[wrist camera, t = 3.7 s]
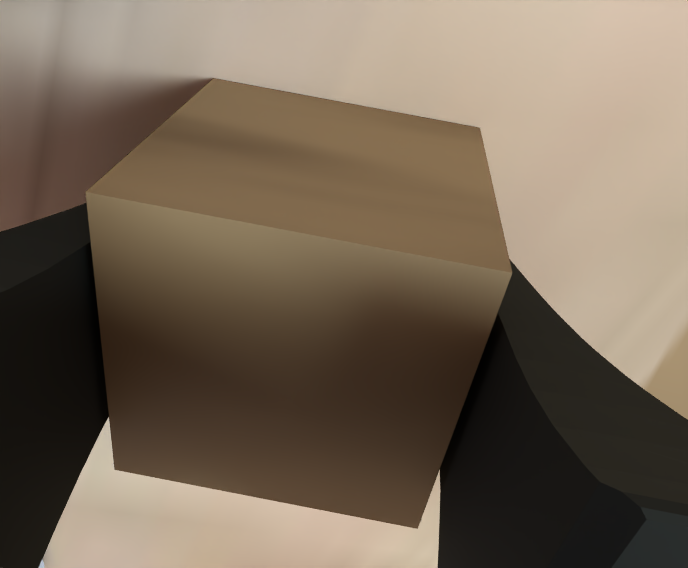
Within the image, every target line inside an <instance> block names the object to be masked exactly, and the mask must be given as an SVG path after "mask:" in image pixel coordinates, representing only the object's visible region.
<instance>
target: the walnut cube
mask: <svg viewBox="0 0 688 568" xmlns="http://www.w3.org/2000/svg"><path fill="white" fill-rule="evenodd" d="M86 202H87V211H88V221H89V230H90V240H91V249H92V259H93V268H94V278H95V287H96V297H97V306H98V316H99V325H100V335H101V344H102V354H103V363H104V373H105V382H106V392H107V402H108V411H109V421H110V430H111V440H112V449H113V459H114V468H115V470H119V471H124V472H130V473H135V474H140V475H145V476H150V477H155V478H160V479H165V480H171V481H176V482H181V483H186V484H191V485H196V486H201V487H206V488H212V489H217V490H222V491H227V492H232V493H237V494H242V495H247V496H253V497H258V498H263V499H268V500H273V501H278V502H283V503H289V504H294V505H299V506H304V507H309V508H314V509H319V510H324V511H330V512H335V513H340V514H345V515H350V516H355V517H360V518H365V519H371V520H376V521H381V522H386V523H391V524H396V525H401V526H406V527H412V528H417V529H418V526H419V523H420V520H421V518H422V515H423V512H424V510H425V507H426V504H427V502H428V499H429V496H430V494H431V491H432V488H433V485H434V483H435V480H436V477H437V475H438V472H439V469H440V467H441V464H442V461H443V459H444V456H445V453H446V450H447V448H448V445H449V442H450V440H451V437H452V434H453V432H454V429H455V426H456V424H457V421H458V418H459V415H460V413H461V410H462V407H463V405H464V402H465V399H466V397H467V394H468V391H469V388H470V386H471V383H472V380H473V378H474V375H475V372H476V370H477V367H478V364H479V362H480V359H481V356H482V353H483V351H484V348H485V345H486V343H487V340H488V337H489V335H490V332H491V329H492V327H493V324H494V321H495V318H496V316H497V313H498V310H499V308H500V305H501V302H502V300H503V297H504V294H505V292H506V289H507V286H508V283H509V281H510V278H511V275H512V269H511V265H510V260H509V256H508V251H507V247H506V242H505V238H504V233H503V229H502V224H501V220H500V216H499V211H498V207H497V202H496V198H495V193H494V189H493V184H492V180H491V175H490V171H489V166H488V162H487V158H486V153H485V149H484V144H483V140H482V135H481V131H480V128H477V127H471V126H466V125H461V124H455V123H450V122H444V121H439V120H434V119H428V118H423V117H418V116H412V115H407V114H402V113H396V112H391V111H385V110H380V109H375V108H369V107H364V106H359V105H353V104H348V103H343V102H337V101H332V100H327V99H321V98H316V97H310V96H305V95H300V94H294V93H289V92H284V91H278V90H273V89H268V88H262V87H257V86H251V85H246V84H241V83H235V82H230V81H225V80H219V79H212V80H211V81H210V82H209V83H208V84H207V85H206V86H205V87H203V88H202V89H201V90H200V91H199V92H198V93H197V94H196V95H194V96H193V97H192V98H191V99H190V100H189V101H188V102H186V103H185V104H184V105H183V106H182V107H181V108H180V109H179V110H177V111H176V112H175V113H174V114H173V115H172V116H171V117H170V118H168V119H167V120H166V121H165V122H164V123H163V124H162V125H161V126H159V127H158V128H157V129H156V130H155V131H154V132H153V133H152V134H150V135H149V136H148V137H147V138H146V139H145V140H144V141H143V142H141V143H140V144H139V145H138V146H137V147H136V148H135V149H134V150H132V151H131V152H130V153H129V154H128V155H127V156H126V157H124V158H123V159H122V160H121V161H120V162H119V163H118V164H117V165H115V166H114V167H113V168H112V169H111V170H110V171H109V172H108V173H106V174H105V175H104V176H103V177H102V178H101V179H100V180H99V181H97V182H96V183H95V184H94V185H93V186H92V187H91V188H90V189H88V190H87V191H86Z"/></svg>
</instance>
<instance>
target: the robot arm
mask: <svg viewBox="0 0 688 568" xmlns="http://www.w3.org/2000/svg"><path fill="white" fill-rule="evenodd" d="M509 260H510V259H509ZM510 265H511V269H512V275H511V278H510V281H509V283H508V286H507V289H506V292H505V294H504V297H503V300H502V302H501V305H500V308H499V310H498V313H497V316H496V318H495V321H494V324H493V327H492V329H491V332H490V335H489V337H488V340H487V343H486V345H485V348H484V351H483V353H482V356H481V359H480V362H479V364H478V367H477V370H476V372H475V375H474V378H473V380H472V383H471V386H470V388H469V391H468V394H467V397H466V399H465V402H464V405H463V407H462V410H461V413H460V415H459V418H458V421H457V424H456V426H455V429H454V432H453V434H452V437H451V440H450V442H449V445H448V448H447V450H446V453H445V456H444V459H443V461H442V464H441V467H440V490H441V493H440V524H439V551H438V568H688V420H687V419H686V418H684V417H683V416H681V415H680V414H678V413H677V412H675V411H674V410H672V409H671V408H669V407H668V406H667V405H665V404H664V403H662V402H661V401H660V400H658V399H657V398H655V397H654V396H652V395H651V394H650V393H648V392H647V391H645V390H644V389H643V388H641V387H640V386H639V385H637V384H636V383H635V382H633V381H632V380H631V379H629V378H628V377H627V376H625V375H624V374H623V373H622V372H621V371H619V370H618V369H617V368H616V367H615V366H613V365H612V364H611V363H610V362H609V361H607V360H606V359H605V358H604V357H603V356H601V355H600V354H599V353H598V352H597V351H595V350H594V349H593V348H592V347H591V346H590V345H589V344H588V343H587V342H585V341H584V340H583V339H582V338H581V337H580V336H579V335H578V334H577V333H576V332H575V331H574V330H573V329H572V328H571V327H570V326H569V325H568V324H567V323H566V322H565V321H564V320H563V319H562V318H561V317H560V316H559V315H558V314H557V313H556V312H555V311H554V310H553V309H552V307H551V306H550V305H549V304H548V303H547V302H546V301H545V300H544V299H543V298H542V297H541V295H540V294H539V293H538V292H537V291H536V290H535V289H534V287H533V286H532V285H531V284H530V283H529V282H528V280H527V279H526V278H525V277H524V276H523V275H522V273H521V272H520V271H519V270H518V269H517V267H516V266H515V265H514V264H513V263H512V261H511V260H510ZM108 417H109V411H108V402H107V392H106V382H105V373H104V363H103V354H102V344H101V335H100V325H99V316H98V306H97V297H96V287H95V278H94V268H93V259H92V249H91V240H90V230H89V221H88V211H87V203H85V204H82V205H80V206H77V207H75V208H72V209H69V210H66V211H63V212H60V213H57V214H54V215H51V216H48V217H45V218H42V219H39V220H36V221H33V222H30V223H27V224H25V225H22V226H19V227H15V228H12V229H8V230H5V231H1V232H0V568H45V567H44V563H43V556H44V554H45V551H46V549H47V547H48V544H49V542H50V540H51V537H52V535H53V533H54V530H55V528H56V526H57V523H58V521H59V519H60V517H61V515H62V512H63V510H64V508H65V506H66V504H67V501H68V499H69V497H70V495H71V493H72V491H73V488H74V486H75V484H76V482H77V480H78V477H79V475H80V473H81V471H82V469H83V467H84V465H85V463H86V461H87V459H88V457H89V454H90V452H91V450H92V448H93V446H94V444H95V442H96V440H97V438H98V436H99V434H100V432H101V430H102V428H103V426H104V424H105V422H106V421H107V419H108Z"/></svg>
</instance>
